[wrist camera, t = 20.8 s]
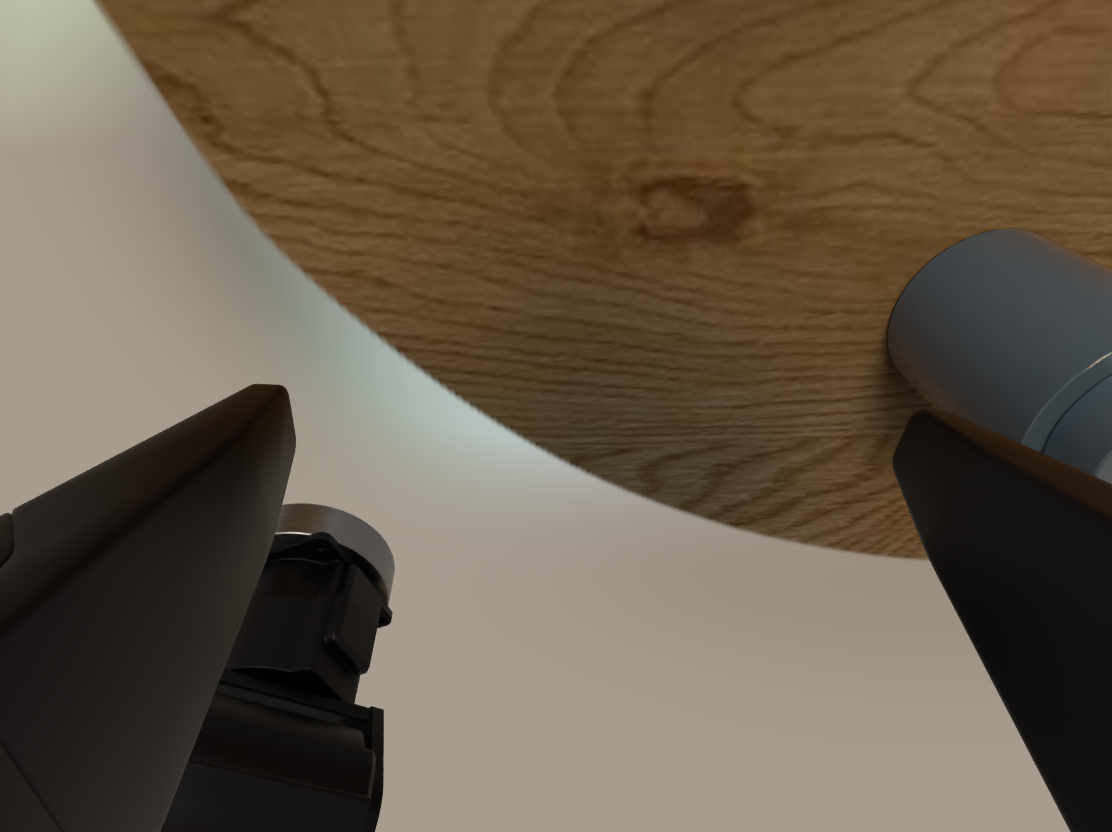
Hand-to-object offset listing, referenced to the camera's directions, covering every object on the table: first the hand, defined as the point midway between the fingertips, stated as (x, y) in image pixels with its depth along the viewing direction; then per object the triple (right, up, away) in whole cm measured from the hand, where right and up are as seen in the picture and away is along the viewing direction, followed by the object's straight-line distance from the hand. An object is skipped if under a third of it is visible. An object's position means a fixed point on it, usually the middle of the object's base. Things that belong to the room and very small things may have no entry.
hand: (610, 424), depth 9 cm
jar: (+14, +4, +13) cm, 19 cm away
